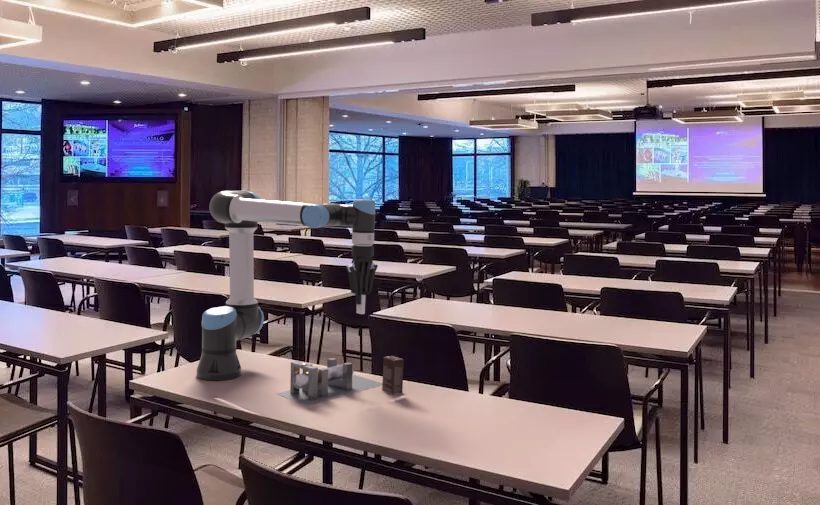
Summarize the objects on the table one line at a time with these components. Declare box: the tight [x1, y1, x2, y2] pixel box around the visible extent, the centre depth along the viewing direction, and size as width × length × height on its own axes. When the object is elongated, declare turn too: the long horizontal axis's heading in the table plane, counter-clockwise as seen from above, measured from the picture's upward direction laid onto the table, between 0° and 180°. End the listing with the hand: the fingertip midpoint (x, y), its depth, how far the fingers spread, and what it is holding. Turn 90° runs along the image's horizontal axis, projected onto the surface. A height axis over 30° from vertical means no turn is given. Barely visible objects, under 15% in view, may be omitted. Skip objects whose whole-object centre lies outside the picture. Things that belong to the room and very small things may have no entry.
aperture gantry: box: [289, 360, 319, 401], centre depth 216 cm, size 11×2×10 cm, turn 48°
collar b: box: [302, 362, 328, 398], centre depth 220 cm, size 10×2×9 cm, turn 48°
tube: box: [293, 364, 354, 389], centre depth 222 cm, size 5×22×5 cm, turn 138°
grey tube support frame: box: [326, 357, 353, 391], centre depth 227 cm, size 10×2×9 cm, turn 48°
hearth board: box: [276, 374, 382, 407], centre depth 226 cm, size 16×34×1 cm, turn 138°
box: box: [381, 355, 404, 395], centre depth 225 cm, size 6×4×12 cm
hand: (360, 313), depth 234 cm, fingers closed
